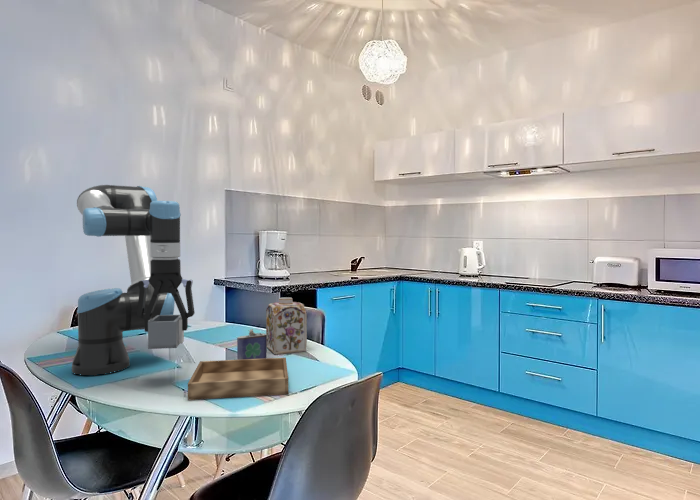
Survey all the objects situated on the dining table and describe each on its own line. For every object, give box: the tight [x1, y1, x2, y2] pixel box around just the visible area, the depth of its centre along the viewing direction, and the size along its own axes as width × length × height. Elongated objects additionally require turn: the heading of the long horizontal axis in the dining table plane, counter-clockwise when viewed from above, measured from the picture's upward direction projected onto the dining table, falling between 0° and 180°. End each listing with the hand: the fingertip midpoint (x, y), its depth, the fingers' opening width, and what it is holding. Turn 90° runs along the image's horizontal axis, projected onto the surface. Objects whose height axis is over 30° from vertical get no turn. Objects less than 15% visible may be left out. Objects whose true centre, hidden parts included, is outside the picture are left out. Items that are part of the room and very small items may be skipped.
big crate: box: [187, 357, 289, 401], centre depth 124 cm, size 24×20×4 cm
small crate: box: [147, 314, 182, 350], centre depth 126 cm, size 7×10×7 cm
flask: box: [236, 328, 268, 360], centre depth 143 cm, size 9×3×11 cm, turn 121°
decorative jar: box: [265, 296, 308, 355], centre depth 161 cm, size 12×12×18 cm
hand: (166, 342), depth 127 cm, fingers closed on small crate, 7 cm apart
